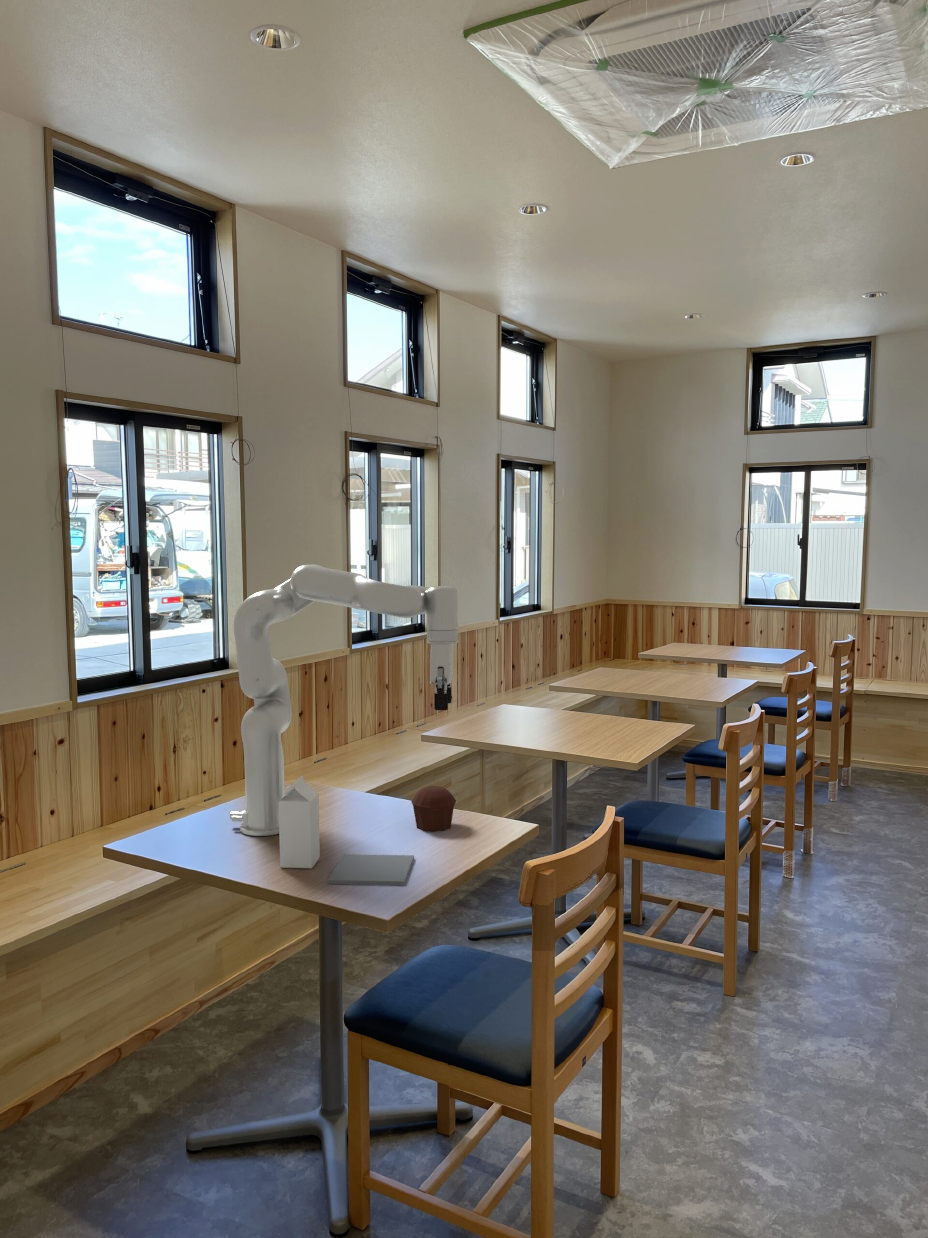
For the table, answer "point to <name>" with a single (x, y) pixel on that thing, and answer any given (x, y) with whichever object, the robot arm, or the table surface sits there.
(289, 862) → the milk carton
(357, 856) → the mat
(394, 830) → the table surface
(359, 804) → the table surface
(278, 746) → the robot arm
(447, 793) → the muffin
